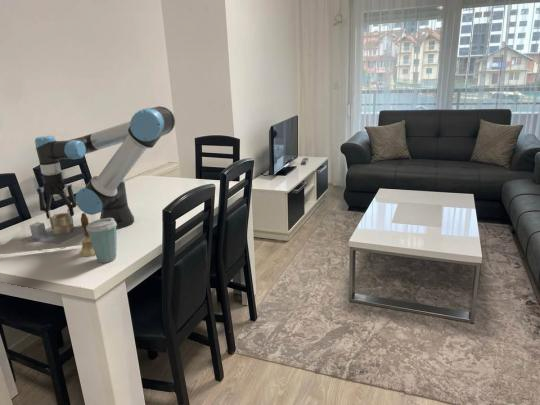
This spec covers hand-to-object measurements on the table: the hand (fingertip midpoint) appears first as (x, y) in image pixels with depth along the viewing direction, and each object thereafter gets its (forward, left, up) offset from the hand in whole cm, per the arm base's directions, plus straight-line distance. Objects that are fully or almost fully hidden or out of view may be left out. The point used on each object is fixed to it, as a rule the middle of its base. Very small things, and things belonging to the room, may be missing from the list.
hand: (62, 224), depth 186 cm
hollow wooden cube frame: (0, 0, -3) cm, 3 cm away
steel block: (+3, +10, -5) cm, 11 cm away
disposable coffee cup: (-38, +19, -5) cm, 43 cm away
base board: (0, +4, -5) cm, 6 cm away
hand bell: (-27, +15, -5) cm, 31 cm away
